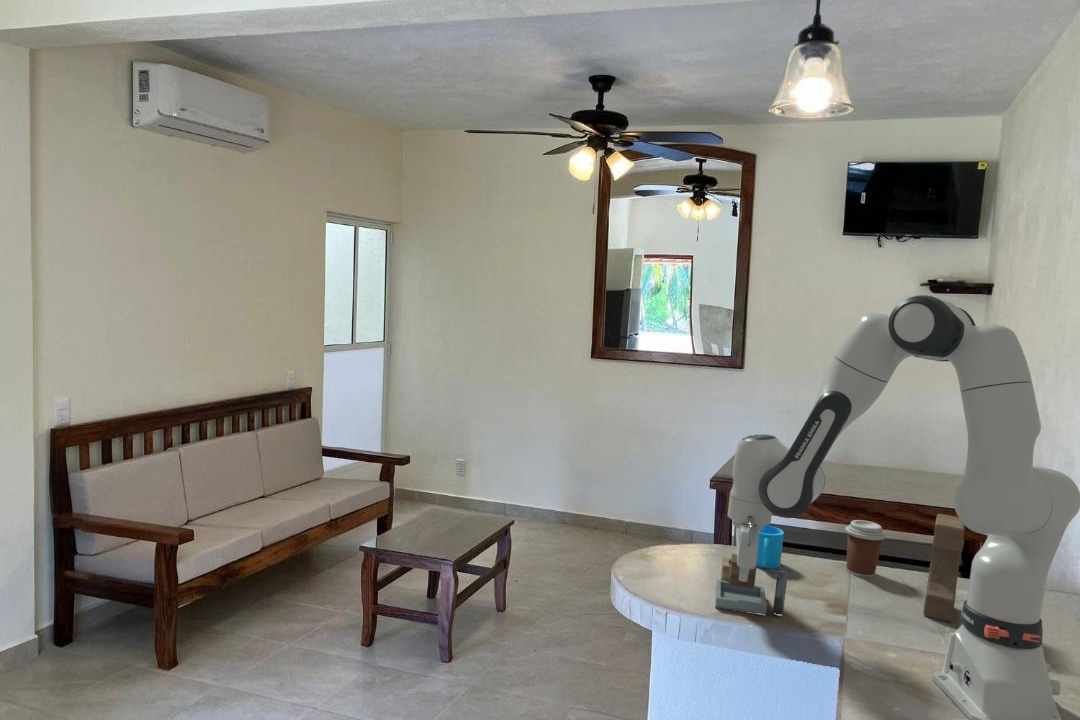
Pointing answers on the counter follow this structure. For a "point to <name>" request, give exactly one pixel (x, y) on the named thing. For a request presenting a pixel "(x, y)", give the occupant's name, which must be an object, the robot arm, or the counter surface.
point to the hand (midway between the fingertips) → (742, 575)
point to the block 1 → (725, 569)
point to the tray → (740, 598)
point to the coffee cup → (863, 547)
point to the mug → (770, 547)
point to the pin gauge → (780, 592)
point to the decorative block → (944, 567)
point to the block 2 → (735, 575)
